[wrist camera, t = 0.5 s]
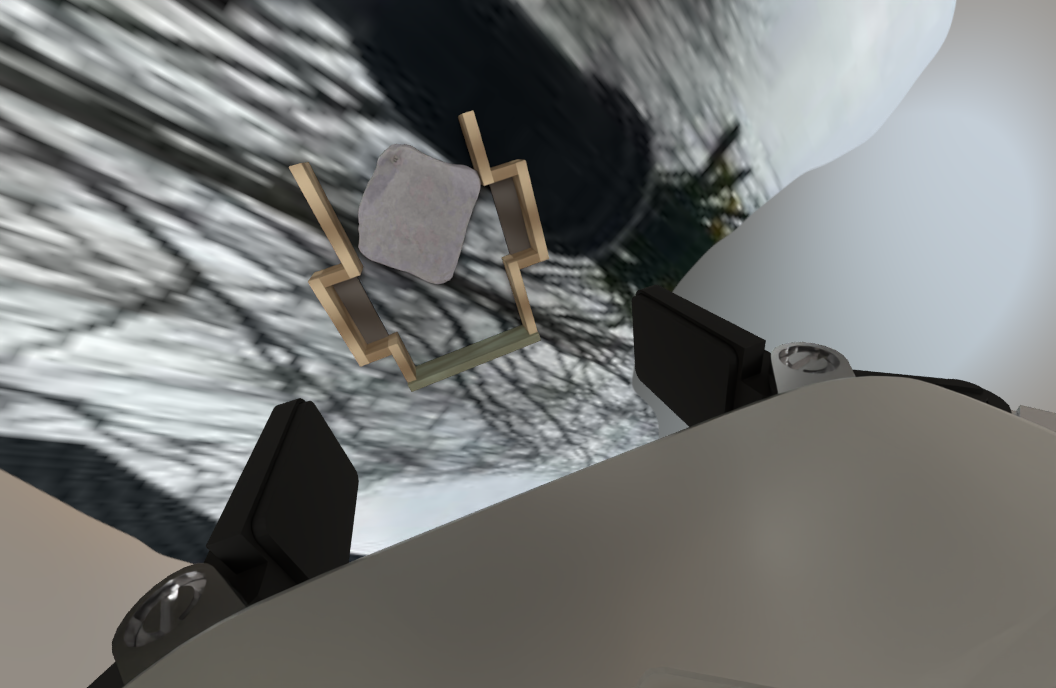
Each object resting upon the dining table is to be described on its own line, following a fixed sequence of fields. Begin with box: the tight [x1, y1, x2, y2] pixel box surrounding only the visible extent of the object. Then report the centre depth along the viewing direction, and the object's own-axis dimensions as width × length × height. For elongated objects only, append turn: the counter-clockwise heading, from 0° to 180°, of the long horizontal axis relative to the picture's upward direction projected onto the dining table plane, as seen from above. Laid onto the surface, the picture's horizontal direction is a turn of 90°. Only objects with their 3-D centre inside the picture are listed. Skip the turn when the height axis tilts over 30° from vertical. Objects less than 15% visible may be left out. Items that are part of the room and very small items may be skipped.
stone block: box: [358, 144, 481, 284], centre depth 36 cm, size 12×5×10 cm
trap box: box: [289, 111, 549, 392], centre depth 38 cm, size 24×23×4 cm
